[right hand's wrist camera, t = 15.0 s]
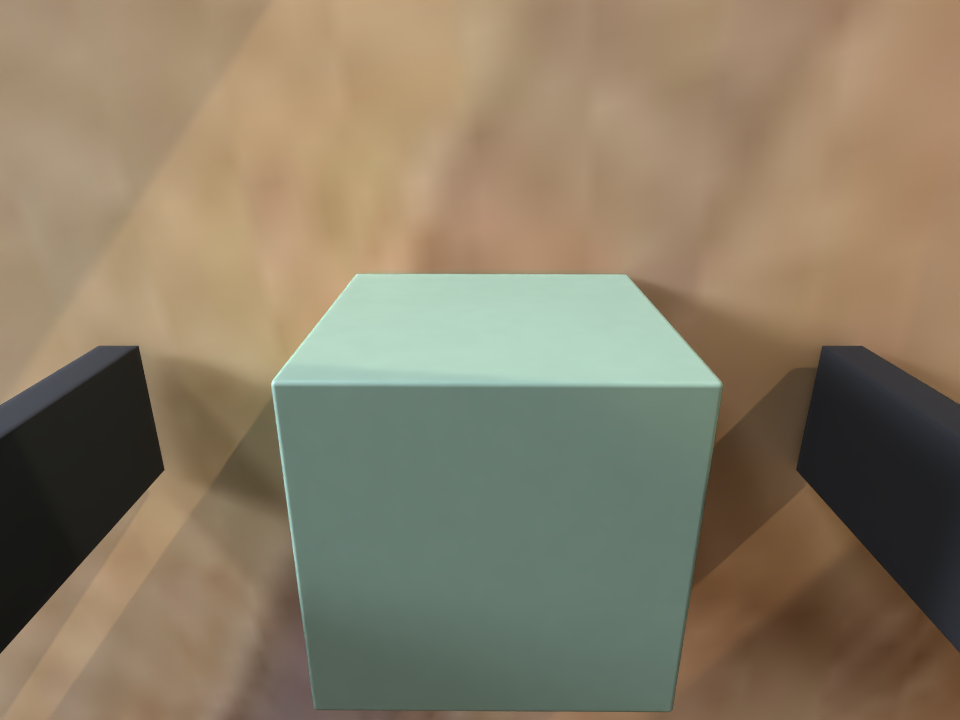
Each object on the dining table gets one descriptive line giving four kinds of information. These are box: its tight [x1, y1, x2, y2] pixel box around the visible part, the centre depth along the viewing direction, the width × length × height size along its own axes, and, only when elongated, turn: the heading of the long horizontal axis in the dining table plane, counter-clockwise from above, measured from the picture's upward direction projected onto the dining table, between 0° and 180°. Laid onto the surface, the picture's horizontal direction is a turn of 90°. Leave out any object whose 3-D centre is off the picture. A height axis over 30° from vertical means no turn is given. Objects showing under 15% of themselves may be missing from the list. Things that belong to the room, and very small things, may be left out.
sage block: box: [271, 274, 723, 712], centre depth 10 cm, size 5×5×5 cm
